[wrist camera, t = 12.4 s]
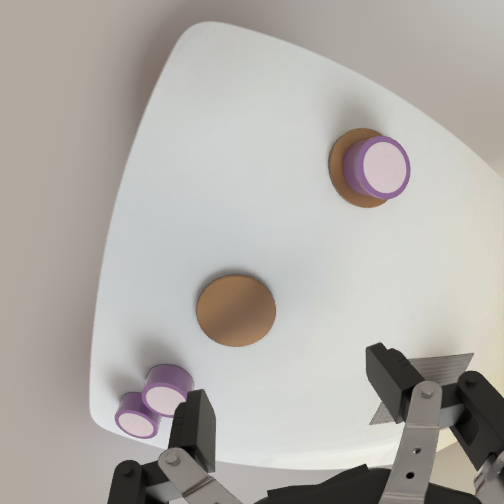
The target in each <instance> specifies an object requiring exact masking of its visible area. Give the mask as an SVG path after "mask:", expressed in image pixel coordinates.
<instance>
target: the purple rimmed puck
mask: <svg viewBox="0 0 504 504" xmlns="http://www.w3.org/2000/svg"><path fill="white" fill-rule="evenodd" d="M141 394H142V393H137V392H132V393H128V394H126V395H124V396H123V397H122V400H121V402H120V404H119V407H118V409H117V412H116V414H115V422H116V424H117V425H118V427H119V428H120V429H121V430H123V431H124V432H125V433H127V434H129V435H131V436H133V437H137V438H142V439H148V438H152V437H154V436H155V435H156V434H157V433H158V429H159V425H160V421H161V416H160V415H158V414H156V413H154V412H152V411H151V410H149V409H148V408H147V407H146V405H145V404H144V403H143V400H142V397H141Z"/></svg>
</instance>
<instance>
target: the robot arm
mask: <svg viewBox="0 0 504 504" xmlns="http://www.w3.org/2000/svg"><path fill="white" fill-rule="evenodd" d="M366 373H367V377H368V380H369V382H370V383H371V385H372V386H373V388H374V389H375V391H376V392H377V394H378V396H379V397H380V399H381V400H382V402H383V403H384V405H385V407H386V408H387V410H388V411H389V413H390V414H391V416H392V418H393V419H394V421H395V422H396V424H399V423H401V422H403V421H404V422H405V423H406V424H405V426H404V430H403V434H402V438H401V441H400V445H399V448H398V451H397V455H396V458H395V461H394V464H393V467H392V469H386V468H372V469H368V467H367V465H366V464H363V465H360V466H358V467H355V468H352V469H349V470H346V471H344V472H341V473H339V474H338V475H336V476H334V477H332V478H330V479H328V480H326V481H325V482H323V483H321V484H318V485H300V486H288V487H283V488H278V489H273V490H268V491H267V494H268V497H265V498H263V499H261V500H259V501H257V502H256V503H254V504H504V398H503V397H502V396H501V395H500V393H499V392H498V391H497V390H496V389H495V388H494V387H493V386H492V385H491V384H490V383H489V382H488V381H487V380H486V378H485V377H484V376H483V375H482V374H480V373H479V372H477V371H466V372H464V373H462V374H461V375H460V376H459V378H458V381H457V382H456V383H452V384H448V385H443V386H440V385H439V384H438V383H436V382H434V381H426V380H425V379H424V377H423V376H422V375H421V374H420V373H419V372H418V371H417V370H416V368H415V367H414V366H413V365H412V364H410V362H409V361H408V359H406V357H405V356H404V355H403V354H402V353H401V352H400V351H398V350H395V349H393V348H391V349H389V350H387V349H386V347H385V346H384V345H383V344H382V343H381V342H379V343H377V344H374V345H371V346H369V347H366ZM173 418H174V419H173V422H172V428H171V433H170V439H169V445H168V449H167V450H165V451H164V452H163V453H161V455H160V456H159V458H158V460H157V461H154V462H151V463H147V464H144V465H140V464H139V463H138V462H136V461H134V460H126V461H123V462H121V463H120V464H118V466H117V467H116V468H115V471H114V475H113V479H112V484H111V488H110V493H109V498H108V503H107V504H169V501H170V500H173V499H177V498H181V497H183V498H184V499H185V500H186V501H187V502H188V503H189V504H243V503H242V502H240V500H238V499H237V498H236V497H235V496H234V495H232V494H231V493H230V492H229V491H228V490H227V489H226V488H224V487H223V486H222V485H221V484H220V483H219V482H218V481H217V480H216V479H214V478H213V477H211V476H209V474H208V473H211V472H215V438H216V417H215V413H214V410H213V408H212V405H211V403H210V401H209V399H208V397H207V395H206V393H205V391H204V389H200V390H193V391H188V393H187V399H186V402H180V403H179V405H178V406H177V408H176V409H175V412H174V417H173ZM445 427H449V428H450V430H451V431H452V433H453V434H454V436H455V437H456V439H457V440H458V442H459V443H460V445H461V446H462V448H463V449H464V451H465V453H466V454H467V456H468V457H469V459H470V461H471V462H472V464H473V465H474V467H475V469H476V470H477V473H476V475H475V478H474V486H475V490H476V493H475V496H474V495H472V494H470V493H466V492H461V491H458V490H453V489H450V488H447V487H443V486H440V485H436V484H433V483H430V482H429V479H430V475H431V471H432V467H433V462H434V458H435V453H436V447H437V442H438V436H439V430H440V428H445Z"/></svg>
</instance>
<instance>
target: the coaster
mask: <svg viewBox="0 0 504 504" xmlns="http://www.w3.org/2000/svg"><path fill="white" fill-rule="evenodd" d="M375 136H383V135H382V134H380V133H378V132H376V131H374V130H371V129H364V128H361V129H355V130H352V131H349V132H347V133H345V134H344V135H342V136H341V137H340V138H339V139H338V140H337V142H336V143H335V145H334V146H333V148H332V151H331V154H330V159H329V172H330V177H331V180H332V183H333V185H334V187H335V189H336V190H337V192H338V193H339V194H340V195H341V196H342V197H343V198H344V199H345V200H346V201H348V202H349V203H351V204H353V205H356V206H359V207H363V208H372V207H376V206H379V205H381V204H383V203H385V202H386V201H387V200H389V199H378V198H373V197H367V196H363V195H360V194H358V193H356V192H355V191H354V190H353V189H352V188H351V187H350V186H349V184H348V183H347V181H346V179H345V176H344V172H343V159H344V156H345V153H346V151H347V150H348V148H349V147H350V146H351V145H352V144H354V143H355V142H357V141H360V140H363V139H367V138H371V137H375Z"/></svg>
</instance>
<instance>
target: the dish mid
mask: <svg viewBox="0 0 504 504" xmlns="http://www.w3.org/2000/svg"><path fill="white" fill-rule="evenodd" d="M193 390H194V382H193V379H192V378H191V376H190V375H189V374H188V373H187V372H186V371H185V370H183V369H182V368H180V367H177V366H174V365H169V364H162V365H158V366H155V367H154V368H152V369H151V370H150V372H149V373H148V376H147V379H146V382H145V384H144V387H143V390H142V394H141V397H142V400H143V403H144V404H145V405H146V407H147V408H148V409H149V410H151V411H152V412H154V413H156V414H158V415H160V416H164V417H169V418H173V417H174V412H175V409H176V408H177V406H178V405H179V403H180V402H186V399H187V393H188V391H193Z"/></svg>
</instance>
